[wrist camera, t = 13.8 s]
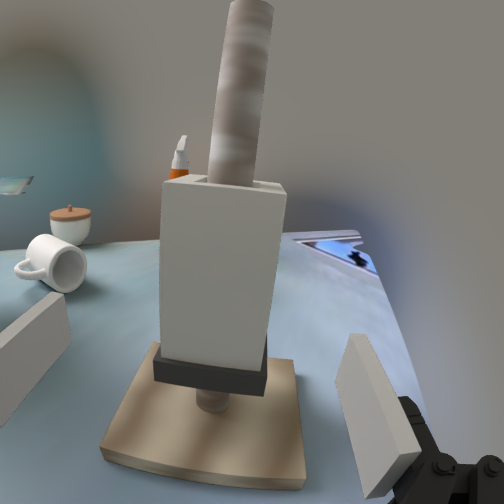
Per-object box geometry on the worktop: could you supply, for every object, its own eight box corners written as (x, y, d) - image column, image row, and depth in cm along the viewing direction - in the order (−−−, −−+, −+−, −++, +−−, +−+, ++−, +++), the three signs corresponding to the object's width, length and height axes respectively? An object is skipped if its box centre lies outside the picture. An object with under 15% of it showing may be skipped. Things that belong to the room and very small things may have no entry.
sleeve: (161, 357, 21) (162, 182, 17) (182, 311, 27) (190, 174, 24) (260, 371, 21) (287, 194, 17) (261, 321, 27) (280, 183, 24)
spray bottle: (192, 245, 77) (201, 137, 69) (188, 260, 66) (198, 134, 58) (164, 243, 76) (171, 135, 68) (156, 257, 65) (163, 132, 58)
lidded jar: (99, 242, 70) (99, 205, 67) (65, 253, 61) (63, 211, 58) (76, 234, 74) (75, 200, 71) (44, 243, 65) (42, 205, 62)
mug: (61, 269, 52) (58, 230, 50) (89, 285, 49) (86, 241, 46) (10, 287, 42) (4, 243, 40) (32, 307, 38) (24, 258, 36)
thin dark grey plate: (154, 380, 21) (152, 360, 20) (178, 326, 28) (178, 308, 28) (263, 396, 21) (267, 376, 20) (263, 337, 28) (266, 319, 28)
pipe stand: (104, 459, 19) (95, -40, 9) (154, 355, 34) (171, 41, 24) (300, 489, 19) (409, -23, 9) (289, 373, 34) (340, 56, 24)
